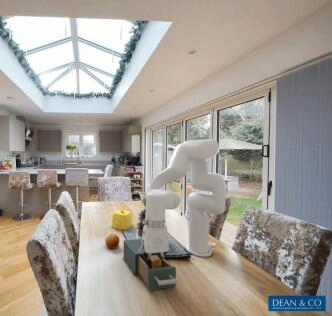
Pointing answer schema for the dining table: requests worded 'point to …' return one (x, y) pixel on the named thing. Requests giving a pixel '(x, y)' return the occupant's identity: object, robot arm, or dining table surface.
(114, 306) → the dining table surface
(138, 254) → the cabinet
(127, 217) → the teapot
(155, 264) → the block
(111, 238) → the fruit
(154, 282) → the drawer
